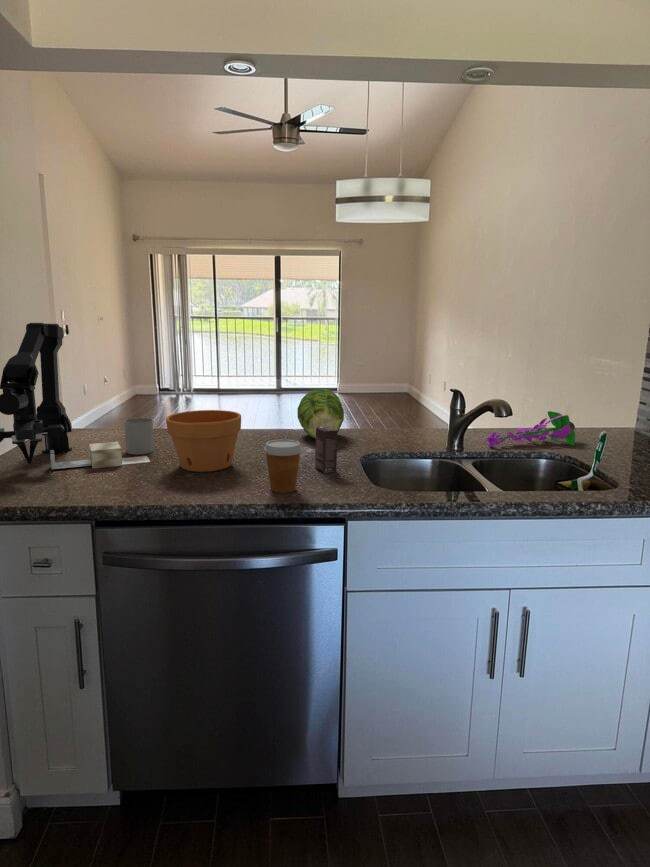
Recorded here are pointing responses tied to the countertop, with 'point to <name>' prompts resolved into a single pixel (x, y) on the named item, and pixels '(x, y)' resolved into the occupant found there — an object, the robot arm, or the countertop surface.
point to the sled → (68, 464)
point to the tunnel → (105, 454)
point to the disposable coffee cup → (283, 464)
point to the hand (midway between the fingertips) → (29, 463)
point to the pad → (135, 460)
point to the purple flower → (541, 431)
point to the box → (326, 449)
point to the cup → (139, 435)
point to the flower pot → (204, 438)
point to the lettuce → (320, 411)
